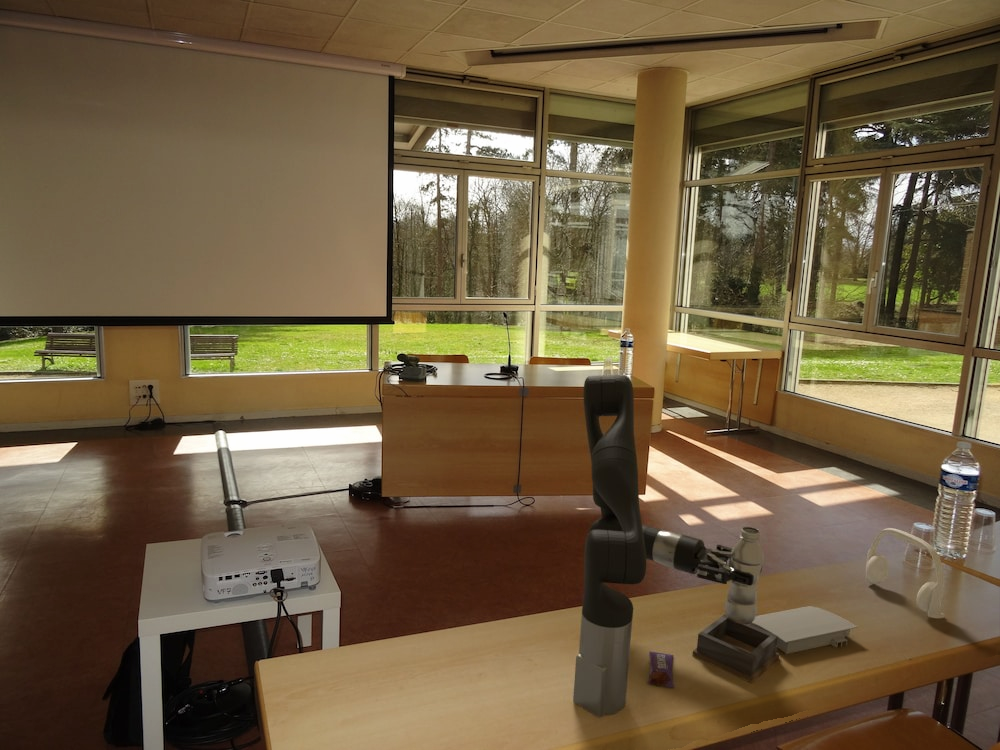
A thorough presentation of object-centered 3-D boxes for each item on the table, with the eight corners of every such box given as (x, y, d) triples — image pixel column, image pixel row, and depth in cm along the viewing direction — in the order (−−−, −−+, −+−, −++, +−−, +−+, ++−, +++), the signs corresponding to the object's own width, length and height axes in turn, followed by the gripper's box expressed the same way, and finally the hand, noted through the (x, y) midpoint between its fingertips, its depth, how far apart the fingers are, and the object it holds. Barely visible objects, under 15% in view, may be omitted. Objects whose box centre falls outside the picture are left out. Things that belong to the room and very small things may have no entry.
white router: (866, 645, 155) (868, 629, 154) (784, 664, 147) (787, 647, 146) (812, 611, 169) (814, 596, 168) (735, 626, 161) (737, 610, 160)
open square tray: (751, 683, 139) (754, 660, 138) (692, 655, 147) (694, 633, 147) (778, 657, 148) (781, 636, 147) (721, 632, 157) (723, 612, 156)
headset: (856, 584, 183) (866, 520, 180) (877, 581, 186) (887, 517, 183) (925, 623, 165) (936, 552, 162) (946, 619, 167) (959, 549, 164)
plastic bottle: (758, 617, 148) (770, 528, 144) (751, 632, 142) (764, 539, 138) (727, 608, 151) (738, 521, 147) (719, 622, 145) (730, 531, 141)
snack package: (649, 646, 148) (674, 650, 146) (648, 655, 148) (673, 659, 147) (648, 678, 136) (674, 683, 135) (647, 687, 137) (674, 692, 136)
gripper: (667, 546, 145) (750, 570, 136) (691, 525, 157) (768, 545, 148) (664, 579, 147) (745, 605, 138) (687, 556, 159) (764, 578, 150)
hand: (757, 574), depth 143 cm, fingers closed on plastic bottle, 6 cm apart
